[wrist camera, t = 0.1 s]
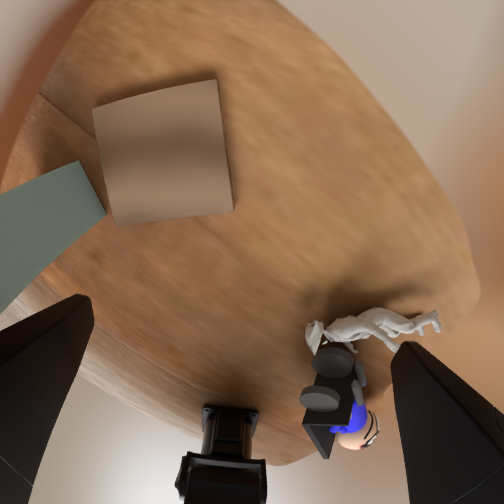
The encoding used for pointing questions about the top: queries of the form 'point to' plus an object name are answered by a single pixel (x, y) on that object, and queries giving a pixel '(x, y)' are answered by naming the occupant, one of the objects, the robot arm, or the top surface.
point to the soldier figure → (369, 328)
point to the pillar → (43, 224)
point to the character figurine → (338, 403)
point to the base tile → (165, 154)
